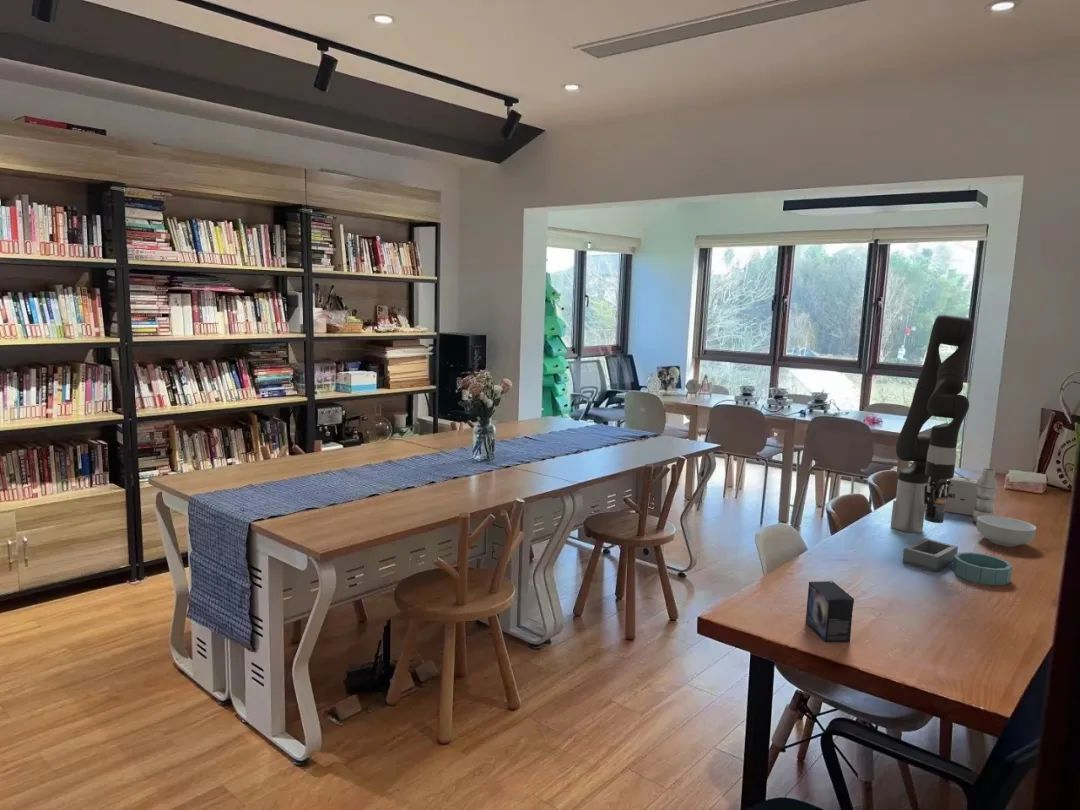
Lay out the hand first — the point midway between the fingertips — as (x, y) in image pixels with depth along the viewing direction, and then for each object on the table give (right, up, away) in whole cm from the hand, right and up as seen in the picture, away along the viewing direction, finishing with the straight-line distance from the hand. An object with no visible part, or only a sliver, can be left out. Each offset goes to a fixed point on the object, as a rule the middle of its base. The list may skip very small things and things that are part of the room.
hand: (934, 515), depth 221 cm
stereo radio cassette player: (+39, -8, +60) cm, 72 cm away
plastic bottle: (+41, -10, +44) cm, 61 cm away
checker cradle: (0, -14, +2) cm, 14 cm away
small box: (-51, -20, -49) cm, 74 cm away
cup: (+9, -16, -8) cm, 20 cm away
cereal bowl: (+36, -13, +23) cm, 44 cm away
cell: (0, -1, 0) cm, 1 cm away
